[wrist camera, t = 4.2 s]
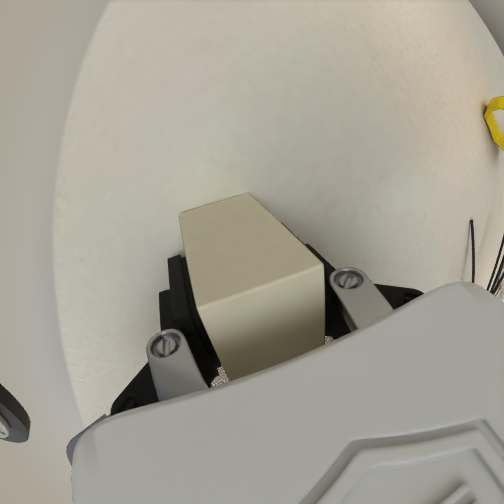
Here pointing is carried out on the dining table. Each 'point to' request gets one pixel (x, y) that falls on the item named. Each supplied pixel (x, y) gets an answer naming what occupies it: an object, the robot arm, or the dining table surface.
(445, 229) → the dining table surface
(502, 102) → the watch
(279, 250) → the cream rectangular block
